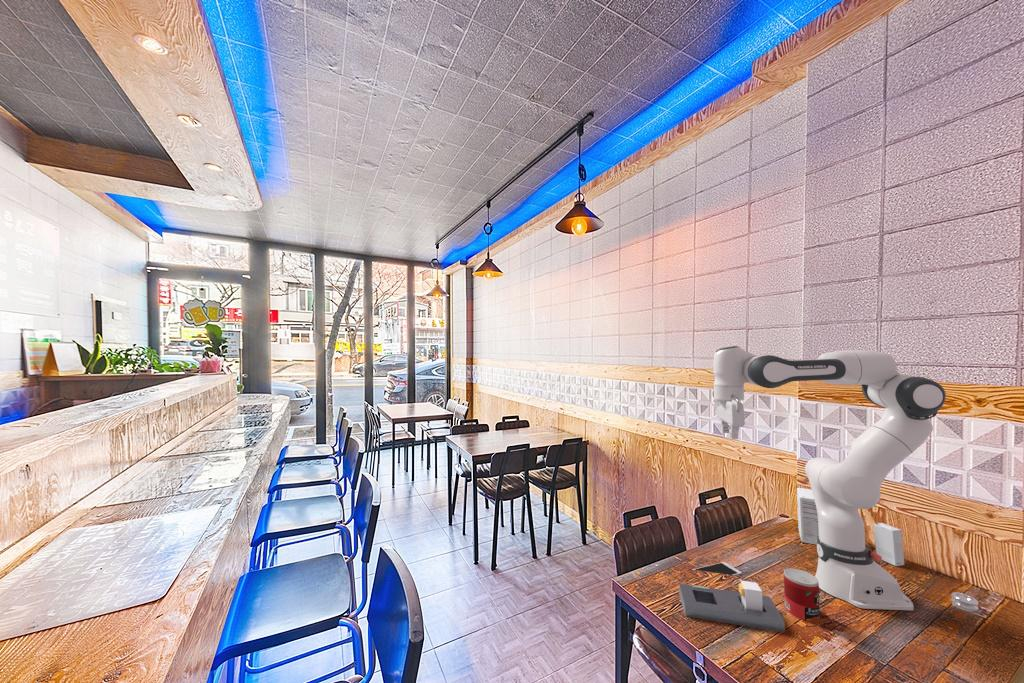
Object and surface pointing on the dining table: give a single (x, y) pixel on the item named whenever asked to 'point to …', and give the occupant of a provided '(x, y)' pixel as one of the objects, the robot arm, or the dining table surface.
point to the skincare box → (889, 544)
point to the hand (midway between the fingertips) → (729, 435)
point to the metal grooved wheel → (965, 602)
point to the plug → (751, 596)
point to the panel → (728, 608)
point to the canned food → (802, 595)
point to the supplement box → (807, 516)
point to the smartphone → (720, 569)
